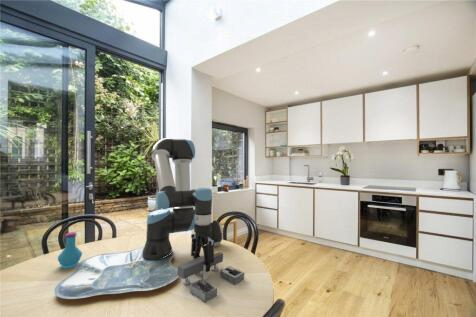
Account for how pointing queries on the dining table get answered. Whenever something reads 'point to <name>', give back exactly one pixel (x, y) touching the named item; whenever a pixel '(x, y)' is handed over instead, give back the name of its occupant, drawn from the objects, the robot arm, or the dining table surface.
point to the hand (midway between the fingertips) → (201, 275)
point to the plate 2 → (232, 275)
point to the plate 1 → (197, 292)
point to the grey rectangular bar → (197, 266)
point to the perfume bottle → (70, 252)
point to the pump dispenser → (216, 233)
